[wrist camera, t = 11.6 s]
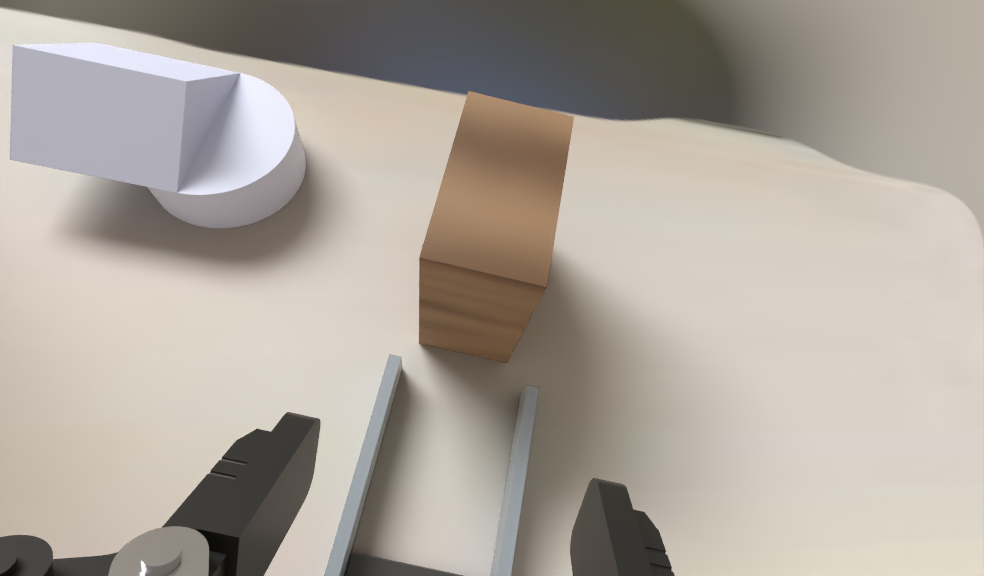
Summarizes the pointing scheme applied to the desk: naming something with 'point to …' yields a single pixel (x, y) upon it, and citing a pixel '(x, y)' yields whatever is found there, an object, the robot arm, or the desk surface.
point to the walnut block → (492, 227)
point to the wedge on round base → (158, 129)
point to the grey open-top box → (367, 570)
